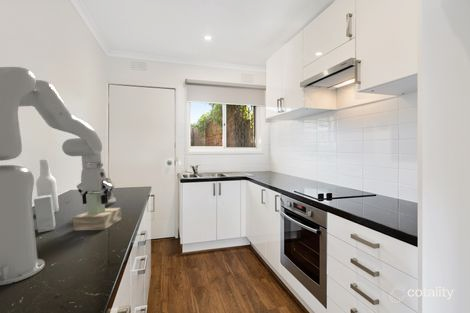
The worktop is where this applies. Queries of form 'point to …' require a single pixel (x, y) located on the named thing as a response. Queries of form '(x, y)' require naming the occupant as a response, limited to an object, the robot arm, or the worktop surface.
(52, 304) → the worktop surface
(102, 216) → the birch block
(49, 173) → the alcohol
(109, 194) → the apothecary jar
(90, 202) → the sage block
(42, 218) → the skincare box
